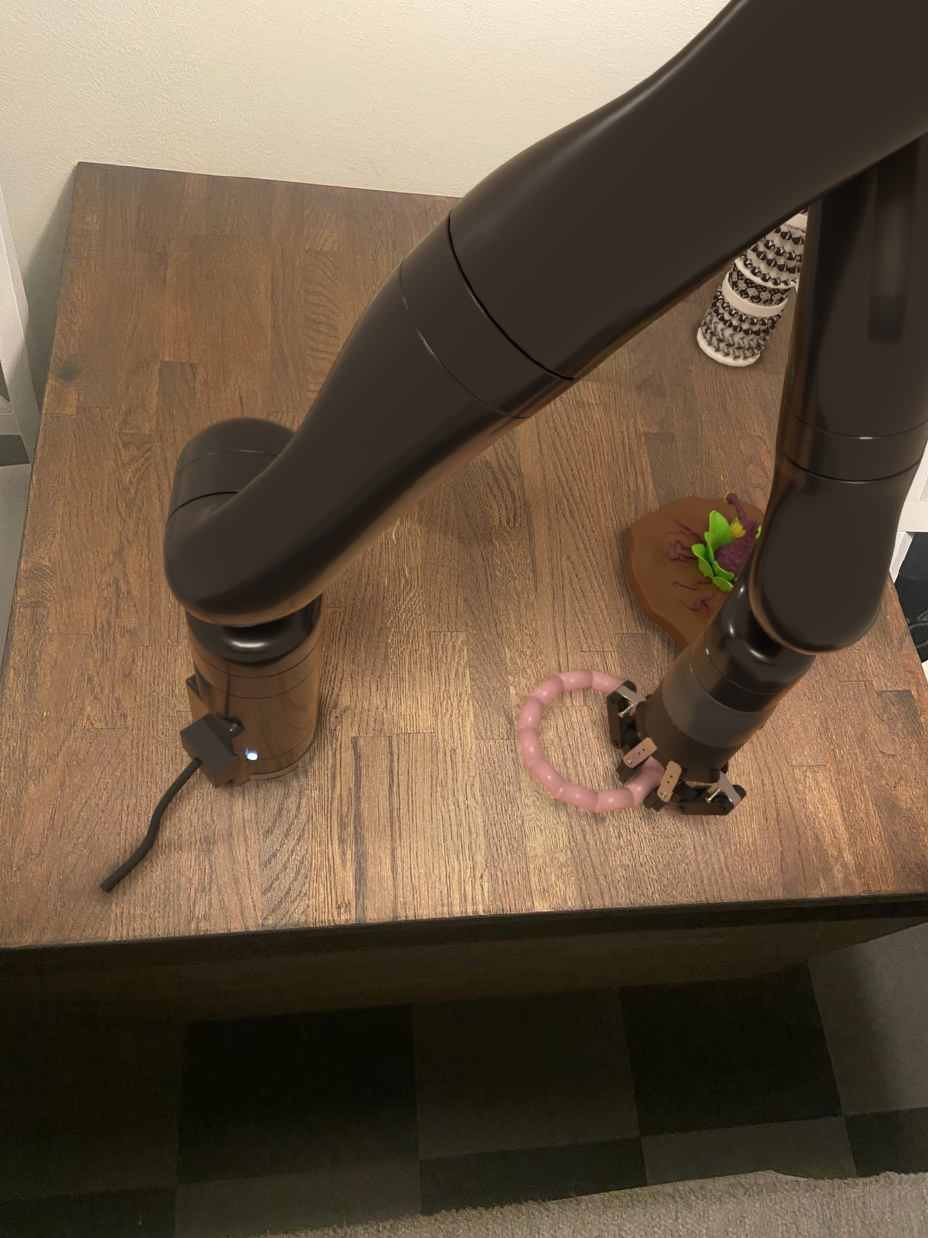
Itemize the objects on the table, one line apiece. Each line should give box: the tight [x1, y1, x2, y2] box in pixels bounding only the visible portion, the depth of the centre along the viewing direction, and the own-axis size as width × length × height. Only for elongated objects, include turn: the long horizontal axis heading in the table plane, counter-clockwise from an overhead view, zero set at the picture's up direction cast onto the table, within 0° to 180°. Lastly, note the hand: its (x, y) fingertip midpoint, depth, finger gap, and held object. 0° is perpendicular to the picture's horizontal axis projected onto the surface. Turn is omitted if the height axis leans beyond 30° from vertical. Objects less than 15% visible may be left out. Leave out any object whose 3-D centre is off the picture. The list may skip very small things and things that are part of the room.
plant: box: [626, 491, 765, 652], centre depth 90 cm, size 20×20×11 cm
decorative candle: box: [696, 208, 808, 367], centre depth 107 cm, size 9×9×25 cm
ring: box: [515, 668, 665, 814], centre depth 82 cm, size 14×14×2 cm
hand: (638, 790), depth 81 cm, fingers closed
